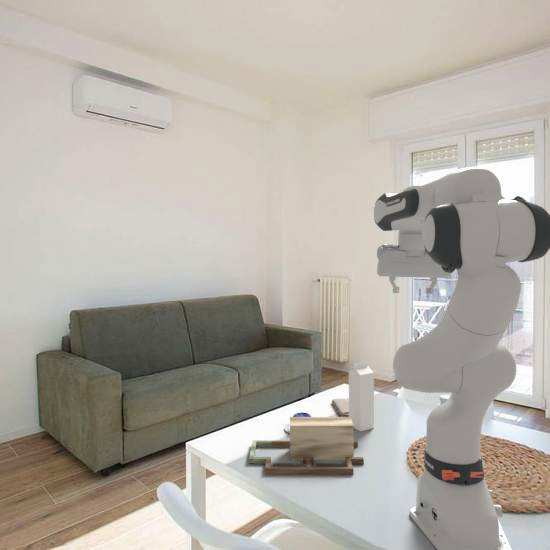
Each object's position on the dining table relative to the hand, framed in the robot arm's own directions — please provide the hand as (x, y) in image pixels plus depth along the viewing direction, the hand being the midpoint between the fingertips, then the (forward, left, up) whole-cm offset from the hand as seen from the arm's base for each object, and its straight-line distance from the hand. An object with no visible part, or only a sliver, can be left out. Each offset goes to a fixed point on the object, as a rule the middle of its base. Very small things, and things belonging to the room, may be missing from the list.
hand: (412, 293), depth 130 cm
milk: (+21, +11, -47) cm, 53 cm away
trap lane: (-3, +31, -47) cm, 56 cm away
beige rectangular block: (0, +26, -47) cm, 54 cm away
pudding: (+19, +31, -48) cm, 60 cm away
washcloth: (+38, +12, -48) cm, 62 cm away
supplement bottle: (+13, -15, -47) cm, 51 cm away
